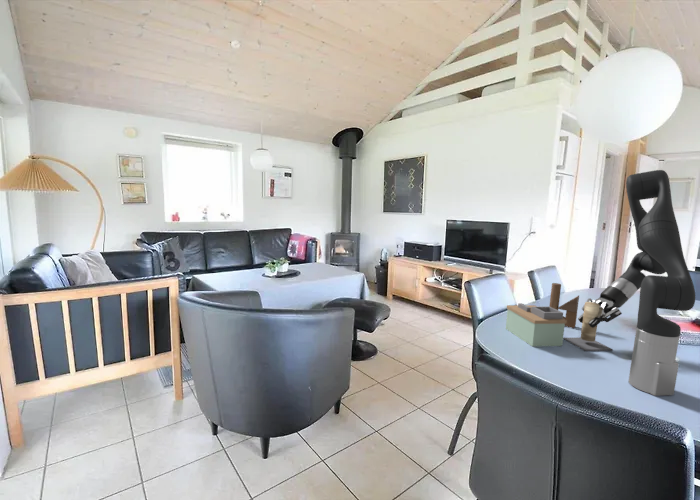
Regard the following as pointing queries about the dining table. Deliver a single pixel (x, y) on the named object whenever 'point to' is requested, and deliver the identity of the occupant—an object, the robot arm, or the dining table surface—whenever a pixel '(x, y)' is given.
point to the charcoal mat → (587, 344)
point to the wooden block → (564, 305)
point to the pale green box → (536, 324)
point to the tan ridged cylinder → (589, 314)
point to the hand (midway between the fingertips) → (585, 323)
